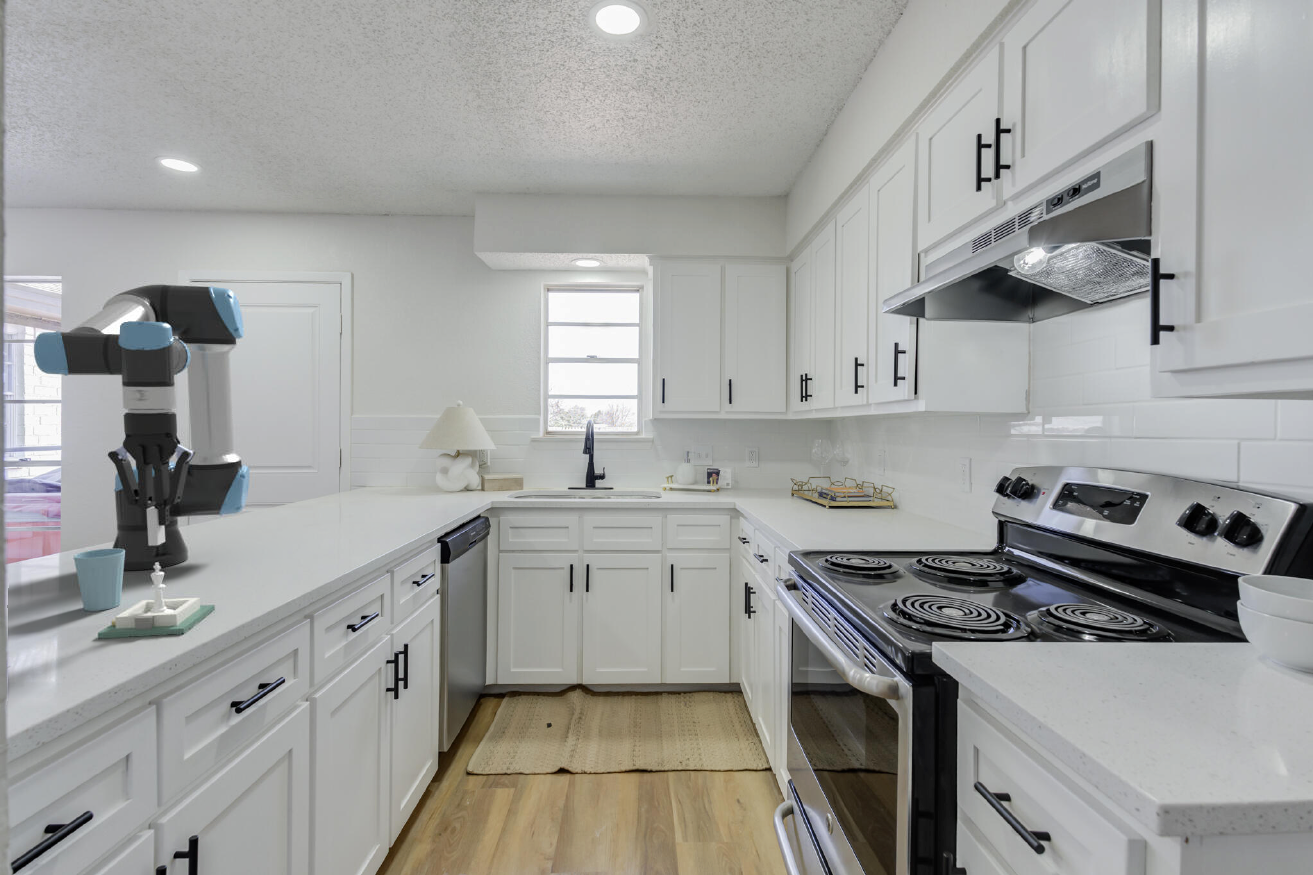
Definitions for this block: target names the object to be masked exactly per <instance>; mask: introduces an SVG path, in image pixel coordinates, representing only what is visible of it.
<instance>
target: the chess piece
mask: <svg viewBox="0 0 1313 875" xmlns="http://www.w3.org/2000/svg"><path fill="white" fill-rule="evenodd" d="M153 569H154V570H155V571H154V572H152V573H151V574H150V578H151V579H152V582H153V585H152V586H151V587H150V589H151V590H154V598H153V600H154V606H153V609H151V612H148V613H168V612H173V611H174V610H171V609H167V607H165V605H164V601H163V599H164V596H163V590H162V589H164V588H165V587H166V585H165V584H163V583H162V582H163V579H164V576H165V572H163V571H160V570H161V569H162V567H160V566H159V563H158V562H157V563H155V566H154V568H153ZM146 614H147V613H146Z"/></svg>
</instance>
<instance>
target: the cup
mask: <svg viewBox="0 0 1313 875" xmlns="http://www.w3.org/2000/svg"><path fill="white" fill-rule="evenodd" d="M124 558H125V550H123V549H112V548H101V549H91V550H86V551H82V552H79V553H76V554H74V555H73V560H74V565H75V570H76V575H77V580H78V584H79V590H80V595H81V601H82V605H83V609H84V610H85V611H88V612H98V611H106V610H110V609H114V608H116V607H118V606H120V605H121V604H122V602H121V601H122V590H123V580H124V579H123V578H124V570H123V569H124Z"/></svg>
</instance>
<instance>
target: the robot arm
mask: <svg viewBox="0 0 1313 875" xmlns="http://www.w3.org/2000/svg"><path fill="white" fill-rule="evenodd" d="M244 331H245V330H244V322H243V315H242V311H241V306H240V304H239V300H238V298H237V295H236V294H235V293H234V292H233V291H232V289H231V290H230V289H228V288H224V287H215V286H197V285H174V284H173V285H172V284H169V285H168V284H162V283H161V284H149V285H143V286H138V287H135V288H132V289H131V288H130V289H128V290H126V291H122V292H120V293H118V294H115V295H114V296H112V297H111V298H109V299H108V300H107V301H106V302H105V303H104V304H103V307H102V310H100V311H99V312H97V313H96V314H94V315H92V316H91V317H90V318H88V319H86V320H85V321H83V322H82V323H80V324H79V325H77V326H76V327H73V328H72V329H71V330H70V331H67V332H65V331H60V330H59V331H45V332H40V333H39V334H38V335H37V336H36V339H35V340H34V343H33V344H34V346H33V354H34V360H35V364H36V366H37V367H38V369H39V370H40V371H41V372H43V373H45V374H48V375H62V376H63V375H64V376H67V377H68V376H121V387H122V388H121V390H122V408H123V409H124V410H125V411H127V412H125V413H124V414H123V428H124V430H123V431H124V435H125V436H124V437H125V438H124V440H123V441H122V445H121V446H119V448H117V449H115V450H112V451H109V452H108V453H107V456H108V458H109V459H110V461H111V462H112V463H113V464H114V466H115V470H116V474H115V478H114V481H115V482H114V485H115V486H114V489H113V492H114V493H115V494H114V495H115V496H114V498H115V512H116V530H117V531H116V532H117V533H116V536H115V539H114V542H113V544H112V548H111V549H123V550H125V558H124V569H123V571H141V570H142V571H143V570H151V569H154V566H155V563H157V562H158V563H159V566H160V567H161V568H165V567H170V566H174V565H178V564H180V563H184V562H185V561H187V560H188V559H189V551H188V550H189V549H188V547H187V543H186V542H185V540H184V538H183V535H182V533H181V531H180V529H179V520H178V519H179V518H180V517H181V518H183V517H185V518H186V517H201V516H202V517H203V516H218V515H219V516H221V517H222V516H224V515H225V516H226V515H234V514H238V513H240V512H242V511H243V509H244V508H245V505H246V502H247V498H248V493H249V486H250V485H249V484H250V467H249V466H248V465H245V464H242V457H241V456H239V455H238V454H237V453H236V452H235V451H234V430H233V429H234V427H233V410H232V409H233V406H232V404H233V403H232V387H231V386H232V383H231V367H230V366H231V362H230V359H231V358H230V353H231V352H232V351H233V349H235V348H236V347H237V339H238V340H239V339H242V338H243V337H244V334H245V333H244ZM186 369H187V372H186V373H187V386H188V388H187V390H188V406H189V407H188V408H189V424H190V426H189V427H190V446H191V449H188V448H186V447H185V446H183V445H181V440H180V439H179V438H178V435H177V434H178V421H177V413H175V411H173V410H174V409H175V408H177V401H176V386H175V375H178V374H180V373H183V371H185V370H186ZM174 455H175V456H176V457H175V458H176V459H177V460H176V462H174V461H170V460H171V458H173V456H174ZM130 456H131V458H132V459H133V460H134V461H135V466H132V463H131V461H130V459H129V457H130Z"/></svg>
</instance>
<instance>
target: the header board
mask: <svg viewBox="0 0 1313 875" xmlns="http://www.w3.org/2000/svg"><path fill="white" fill-rule="evenodd" d="M163 601H164V605H165V607H167V609H171V610H174V611H173V612H168V613H148V612H151V609H153V606H154V599H142V600H141V601H139V602H138V603H136V604H134V605H133V606H131V607H130V608H127V609H126V610H124V611H123V612H121V613H119V614H118V615H116V616H115V620H112V621H111V624H110V625H108V626H107V627H105V628H103V629H101V630H100V631H99V632H97V639H98V638H101V639H116V638H117V639H119V638H130V637H129V636H132V637H131V638H134V637H133V636H139V637H151V636H150V635H158V636H168V635H167V634H177V635H185V634H186V633H187V632H189V631H190V630H191V629H192V627H193V626H194V625H195V624H196V623H197V622H199V621H200V620H201V621H203V620H204V619H205V618H207V616H206V615H208V614H209V613H210V614H212V613H211V611H213V610H214V611H215V610H216V605H215V604H202V605H201V598H200V597H188V598H187V597H183V598H163ZM214 611H213V612H214ZM146 613H147V614H146ZM210 614H209V615H210ZM209 615H208V616H209ZM204 617H205V618H204ZM203 618H204V619H203ZM202 619H203V620H202ZM201 621H200V622H201ZM200 622H199V623H200ZM196 625H197V624H196ZM196 625H195V626H196ZM195 626H194V627H195ZM194 627H193V628H194ZM190 628H191V629H190ZM189 629H190V630H189ZM188 630H189V631H188ZM186 631H187V632H186ZM182 633H183V634H182ZM184 633H185V634H184ZM118 637H119V638H118Z"/></svg>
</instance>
